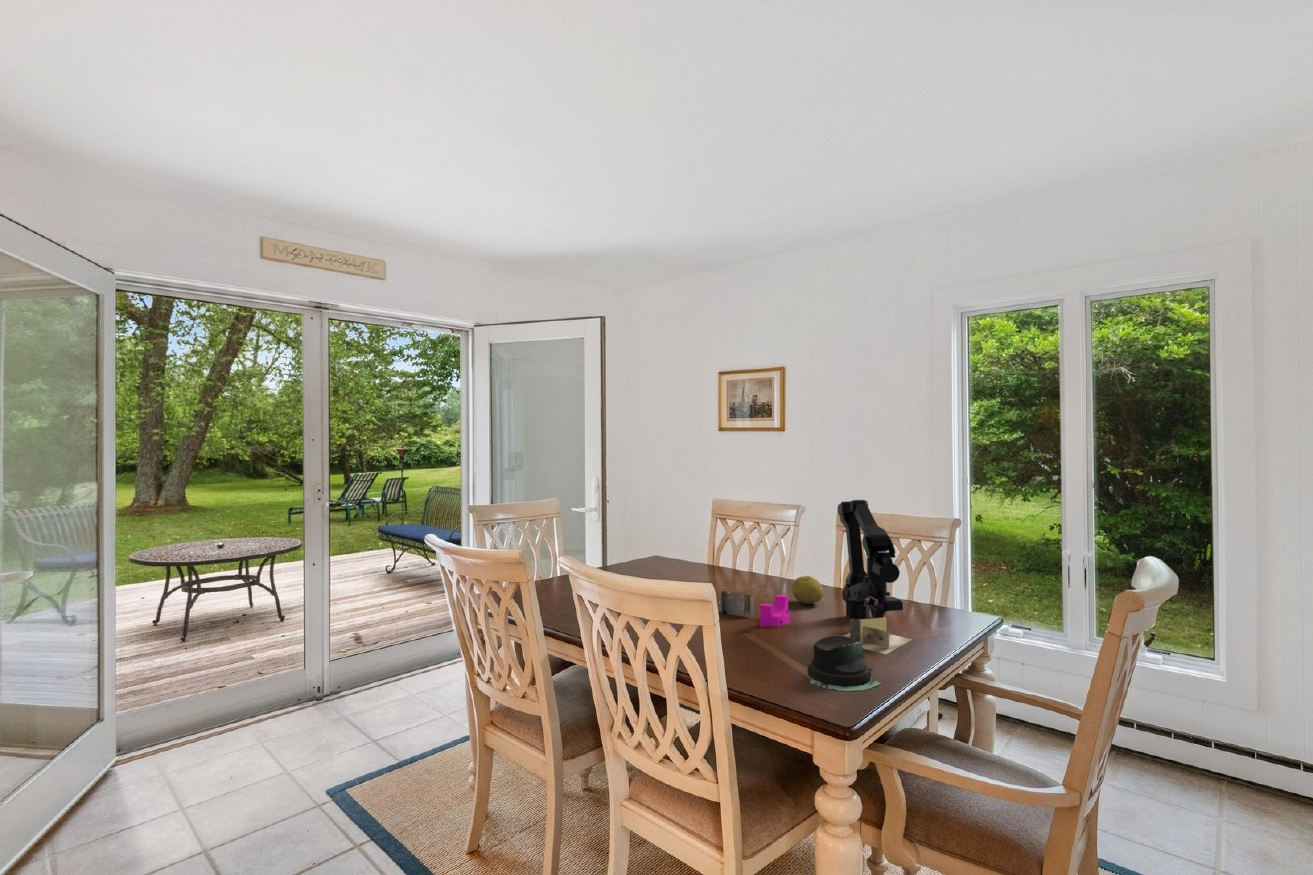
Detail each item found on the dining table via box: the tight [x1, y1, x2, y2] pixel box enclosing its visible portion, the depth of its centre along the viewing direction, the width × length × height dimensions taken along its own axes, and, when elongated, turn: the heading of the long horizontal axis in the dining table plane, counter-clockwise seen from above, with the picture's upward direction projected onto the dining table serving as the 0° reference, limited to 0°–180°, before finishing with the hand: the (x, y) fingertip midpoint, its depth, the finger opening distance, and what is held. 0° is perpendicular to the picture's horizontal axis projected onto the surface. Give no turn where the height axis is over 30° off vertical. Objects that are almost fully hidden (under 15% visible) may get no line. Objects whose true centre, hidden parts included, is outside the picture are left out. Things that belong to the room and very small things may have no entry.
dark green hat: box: [807, 634, 882, 692], centre depth 156 cm, size 20×20×9 cm
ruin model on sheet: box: [720, 586, 755, 619], centre depth 209 cm, size 11×3×10 cm, turn 57°
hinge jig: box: [843, 618, 913, 655], centre depth 178 cm, size 16×17×7 cm
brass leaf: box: [858, 616, 888, 637], centre depth 181 cm, size 8×1×5 cm, turn 103°
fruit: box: [791, 575, 825, 605], centre depth 222 cm, size 11×12×10 cm
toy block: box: [759, 594, 791, 628], centre depth 199 cm, size 15×6×8 cm, turn 147°
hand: (876, 625), depth 184 cm, fingers closed
